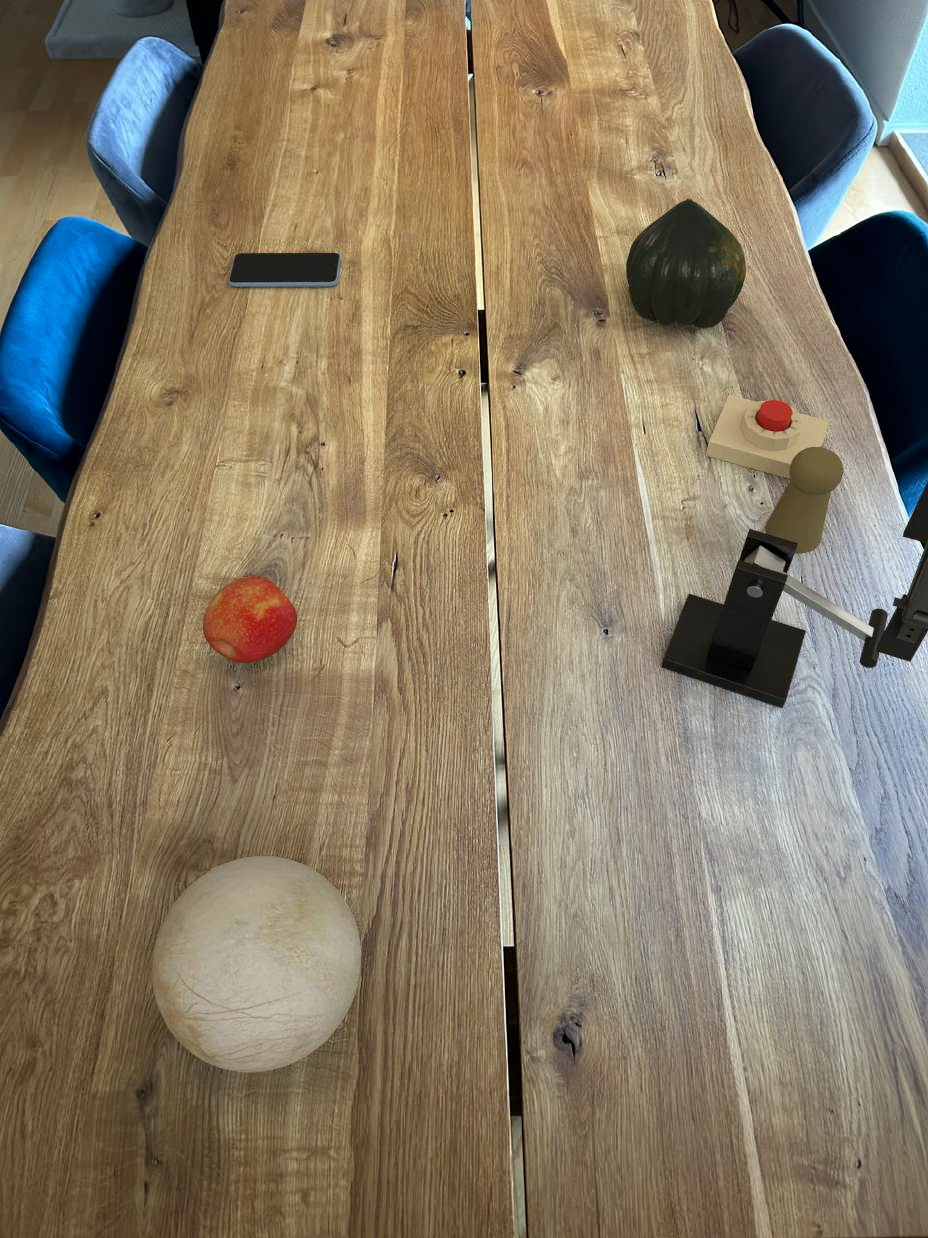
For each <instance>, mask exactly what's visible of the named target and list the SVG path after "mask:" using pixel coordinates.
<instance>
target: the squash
mask: <svg viewBox="0 0 928 1238" xmlns="http://www.w3.org/2000/svg"><path fill="white" fill-rule="evenodd" d="M625 275H626V281H627V285H628V287H627V288H628V294H629V298H630V302H631V304H632V306H633V309H634V311H635V312H636V313H637V315H639V316H640V317H641V318H642V319H644V320H647V321H650V322H651V321H653V322H658V323H659V324H660V325H662V326H664V327H665V326H667V327H668V326H671V325H673V324H674V323H675V322H677V324H679V325H681V326H685V327H686V326H691V325H692V326H693V327H696V328H699V329H710V328H713V327H716V326H718V325H719V324H720V323H721V322H722V321H723V320H724V318H725V317H726V316H727V315H728V312H729V310H730V308H731V307H732V306H733V305H734V304H735V302H736V301H737V300H738V297H739V295H740V293H741V292H742V290H743V286H744V283H745V279H746V275H747V264H746V257H745V253H744V250H743V247H742V245H741V243H740V242H739V240H738V239H737V237H736V236H735V235H734V234H733V232H731V230H730V229H729V228H728V227H726V226H725V225H724V224H723V223H722V222H721V221H720V220H718V218H716V217H715V216H714V215H712V214H711V213H710V212H709V211H708V210H707V209H705V208H704V207H703V206H702V205H701V204H699V203H698V202H697V201H695V200H693V199H692V198H689V197H688V198H686V199H685V200H683V201H680V202H679V203H676V205H674V206H673V207H671V208H670V209H669V210H668V211H666V212H664V214H662V215H661V216H660V217H659V218H658V217H657V219H655V220H654V221H653V222H651V223H650V224H648V226H646V227H645V228H644V229H643V230H642V231H641V232H640V233H638V235H637V236H636V238H635V239H634V241H632V243H631V246H630V247H629V252H628V255H627V259H626V263H625Z"/></svg>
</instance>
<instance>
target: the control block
mask: <svg viewBox="0 0 928 1238" xmlns="http://www.w3.org/2000/svg"><path fill="white" fill-rule="evenodd" d="M765 401H766V400H758V401H755V400H752V399H748V398H743V397H740V396H736V395H732V394H727V397H726V400H725V402H724V404H723V406H722V410H721V411H720V414H719V417H718V419H717V421H716V424H715V426H714V428H713V431H712V433H711V436H710V438H709V440H708V444H707V447H706V451H705V456H706V457H710V458H713V459H716V460H720V461H724V462H728V463H731V464H735V465H738V466H742V467H745V468H748V469H752V470H756V471H759V472H763V473H766V474H770V475H774V476H777V477H781V478H784V479H788V480H791V479H790V466H791V463H792V460H793V458H794V457H795V456H796V455H797V454H798V453H799V452H800V451H802V450H804V449H806V448H809V447H822V446H823V443H824V440H825V437H826V434H827V430H828V429H829V424H830V420H827V419H823V418H819V417H815V416H812V415H808V414H804V413H801V412H799V411H798V410H797V409H795V408H793V406H791V405H789V406H790V407H791V409H792V417H791V420H790V423H789V426H788V427H787V428H786V429H785V430H784V431H780V432H773V431H769V430H765V429H763V428H762V427H761V426H759V424H758V422H757V417H758V413H759V410H760V406H761V405H762V403H764V402H765Z"/></svg>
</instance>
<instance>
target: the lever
mask: <svg viewBox="0 0 928 1238" xmlns="http://www.w3.org/2000/svg"><path fill="white" fill-rule="evenodd" d="M744 562H747V563H751V564H754V565H757V566H761V567H764V568H767V569H770V570H774V571H777V572H780V573H783V574H786V573H785V572H783V569H784V566H785V563H786V561H785V560H783V559H781V558H780V557H778V556H777V555H775V554H773V553H772V552H770V551H769V550H767V549H765V548H764V547H762V546H759V547H758V548H756V549H755V550H754V551H753V552H752V553H751V554H750V555H749V556H747V557H746V558H745V560H744ZM787 575H788V578H787V581H786V584H785V586H784V589H783V591H782V592H784V593H786V594H787V595H789V596H790V597H792V598H794V599H796V600H797V601H799V602H800V603H802V604H803V605H805V606H807V607H808V608H810V609H811V610H813V611H814V612H816V613H818V614H820V615H821V616H822V617H824V618H826V619H828V620H829V621H831V622H832V623H834V624H835V625H837V626H839V627H840V628H842V629H844V630H845V631H847V632H849V633H850V634H852V635H853V636H855V637H856V638H858V639H860V640H861V641H862V642H863V644H862V649H861V653H860V657H859V664H860V665H861V666H862V667H863V668H866V669H874V668H875V667H876V666H877V665H878V661H879V657H880V653H879V652H876V649H877V645H878V643H879V641H880V639H881V637H882V635H883V633H884V631H885V629H886V627H887V622H888V617H889V613H888V611H886V610H885V609H884V608H875V609H872V610H871V612H870V616H869V620H868V623H866V622H865V621H864V620H862V619H860V618H859V617H857V616H856V615H854V614H852V613H850V612H849V611H848V610H846V609H844V608H842V607H841V606H840V605H837V604H836V603H835V602H833V601H831V600H830V599H828V598H827V597H825V596H823V595H822V594H820V593H818V592H817V591H815V590H814V589H812V588H810V587H809V586H807V585H806V584H804V583H802V582H800V580H798V579H796V578H794V577H793V576H791V574H788V573H787Z"/></svg>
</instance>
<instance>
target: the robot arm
mask: <svg viewBox="0 0 928 1238" xmlns="http://www.w3.org/2000/svg"><path fill="white" fill-rule="evenodd" d="M902 538H905V539H909V540H913V541H917V542H919V543H923V544H925V546H924V548H923V551H922V553H921V557H920V559H919V562H918V564H917V567H916V570H915V572H914V575H913V577H912V581H911V583H910V586H909V589H908V591H907V594H905V593H903V594H902V596H901V598H899V597H894V599H893V602H892V607H896V608H895V610H894V612H893V613H892V615H891V617H890V620H889V621H888V623H887V624H886V626H885V631H884V633H883V635H882V637H881V639H880V641H879V643H878V645H877V649H876V652H879V654H882V655H887V656H890V657H892V658H896V659H899V660H903V661H906V662H909V663H911V661H912V660H913V658H914V657H915V655H916V653H917V652H918V650H919V648H920V646H921V644H922V642H923V641H924V639H925V637H926V636H927V634H928V481H926V484H925V486H924V488H923V490H922V492H921V493H920V497H919V498H918V500H917V503H916V505H915V507H914V509H913V511H912V513H911V514H910V517H909V520H908V522H907V523H906V526H905V528H904V530H903V534H902Z"/></svg>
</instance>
